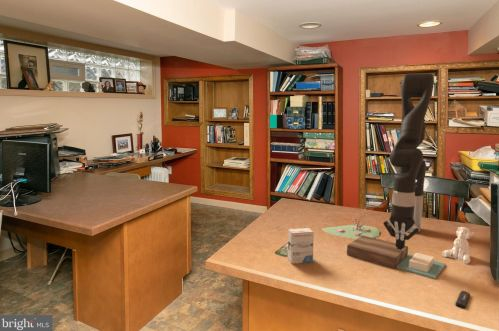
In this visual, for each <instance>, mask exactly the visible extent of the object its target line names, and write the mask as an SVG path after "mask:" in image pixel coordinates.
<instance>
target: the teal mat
mask: <svg viewBox="0 0 499 331" xmlns="http://www.w3.org/2000/svg"><path fill="white" fill-rule="evenodd" d="M413 256H414V254H408V256H407V257H406V258H405V259H403V260H402V261H401V262H400V263H399V264H398V265H397V266H396V268H395V269H398V270H401V271H405V272H408V273H412V274H416V275H419V276H422V277H427V278H429V279H433V280H436V279H437V278H438V276H439V275H440V274H441V272H442V271H443V269H444V268H445V267H446V263H444V262H441V261H437V260H434V262H433V265H432V266H431V268H430V269H429V271H428V272H424V271H420V270H416V269H412V268H409V260H410V259H411V258H412V257H413Z"/></svg>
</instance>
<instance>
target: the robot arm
mask: <svg viewBox="0 0 499 331" xmlns="http://www.w3.org/2000/svg"><path fill="white" fill-rule="evenodd" d="M434 85H435V79H434V75H433V74H432V73H425V72H424V73H406V74H404V76H402V79H401V85H400V86H401V88H400V90H401V93H400V94H401V126H400V129H399V134H398V138H397V141H396V143H395V144H394V146H393V148H392V150H391V151H390V154H389V162H390V164H391V165H392V166H393V167H395V168H399V170H398V171H399V172H398V173H397V174H395V175H394V178H393V188H392V189H393V190H392V195H391V211H390V217H389V219H387V220H384V221H383V222H382V223H383V226H384V228H385V229H386V230H387V232H388V234H389V235H390V237H393V238H395V243H396V247H397V249H399V250H402V249H403V248H404V247H405V246H406V241H409V240H410V239H411V238H412V237H414V236H415V235H416V234H417V233H421V229H422V217H423V216H422V215H423V206H424V205H423V203H424V189H425V188H424V187H425V179H426V171H427V164H426V163H427V162H426V161H425V160H424V153H423V151H422V150H421V149H420V148H418V147H419V146H420V145H421V144H422V143H423V141H424V140H425V137H426V122H425V118H426V114H427V111H428V109H429V105H430V102H431V99H432V96H433V91H434V87H435V86H434ZM412 99H420V100H419V102H418V103H417V104H416V106H414V103H413V100H412ZM407 233H409V234H408V235H407Z"/></svg>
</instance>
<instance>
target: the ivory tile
mask: <svg viewBox="0 0 499 331" xmlns="http://www.w3.org/2000/svg"><path fill="white" fill-rule="evenodd" d="M413 255H414V256H413V257H412V258H411V259H410V260H409V268H412V269H416V270H420V271H424V272H428V271H429V269H430V268H431V266H432V265H433V262H434V261H435V260H434V259H435V256H433V255H432V256H431V255H428V254H423V253H418V252H415V253H414V254H413Z"/></svg>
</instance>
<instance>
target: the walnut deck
mask: <svg viewBox="0 0 499 331" xmlns="http://www.w3.org/2000/svg"><path fill="white" fill-rule="evenodd" d="M408 253H409V246H408V245H405V247H404V248H403V249H402V250H399V249H397V247H396V242H391V241H387V240H382V239H380V238H379V239H378V238H377V237H376V238H371V237H367V236H363V235H362V236H361V237H359V238H358V239H354V240H353V241H352V242H350V243H349V244H347V248H346V256H349V257H352V258H356V259H360V260H362V261H366V262H371V263H374V264H376V265H381V266H384V267H387V268H390V269H397V268H396V266H397V265H398V264H399V263H400V262H401V261H402V260H403V259H405V258H406V257H407V256H408V255H409V254H408Z"/></svg>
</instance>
